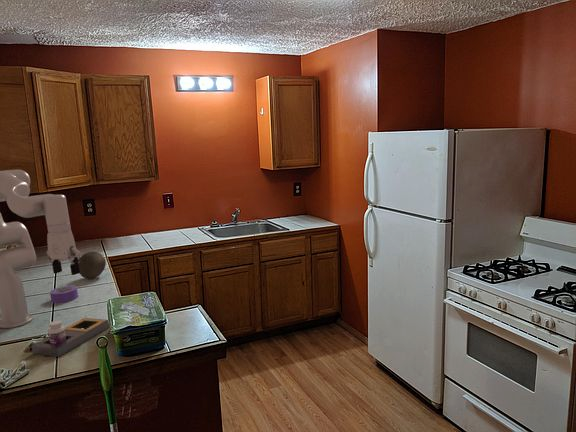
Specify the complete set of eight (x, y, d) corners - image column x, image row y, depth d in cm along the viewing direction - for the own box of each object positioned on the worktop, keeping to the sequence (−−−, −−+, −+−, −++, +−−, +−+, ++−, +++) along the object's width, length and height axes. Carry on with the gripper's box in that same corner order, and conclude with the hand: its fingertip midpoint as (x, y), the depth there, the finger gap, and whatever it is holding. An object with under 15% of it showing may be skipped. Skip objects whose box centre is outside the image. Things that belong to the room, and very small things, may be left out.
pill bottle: (47, 350, 159) (43, 325, 158) (58, 344, 164) (53, 319, 163) (60, 351, 158) (56, 325, 156) (70, 344, 163) (66, 319, 162)
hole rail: (32, 353, 158) (31, 345, 157) (85, 324, 181) (84, 317, 180) (58, 356, 154) (57, 348, 153) (109, 327, 177) (108, 319, 176)
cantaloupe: (86, 283, 238) (82, 256, 236) (75, 279, 248) (71, 253, 245) (111, 276, 248) (108, 250, 246) (100, 273, 258) (96, 247, 255)
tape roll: (79, 299, 214) (78, 289, 213) (52, 305, 208) (50, 295, 207) (76, 293, 224) (75, 283, 223) (50, 299, 218) (49, 289, 217)
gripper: (34, 230, 163) (42, 275, 166) (66, 230, 156) (74, 277, 159) (52, 226, 170) (60, 269, 173) (84, 226, 163) (91, 271, 165)
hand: (66, 273), depth 166 cm, fingers open, 9 cm apart
